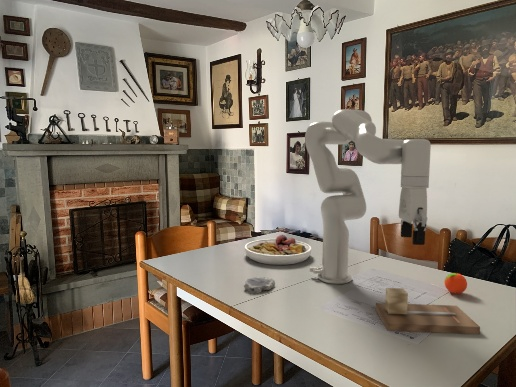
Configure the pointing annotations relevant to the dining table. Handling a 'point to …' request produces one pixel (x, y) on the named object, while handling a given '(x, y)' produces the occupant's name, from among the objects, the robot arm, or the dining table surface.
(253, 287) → the fossil
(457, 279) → the clementine
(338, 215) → the robot arm
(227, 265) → the dining table surface
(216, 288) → the dining table surface
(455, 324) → the board
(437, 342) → the dining table surface
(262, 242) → the bowl
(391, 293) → the block
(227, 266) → the dining table surface
